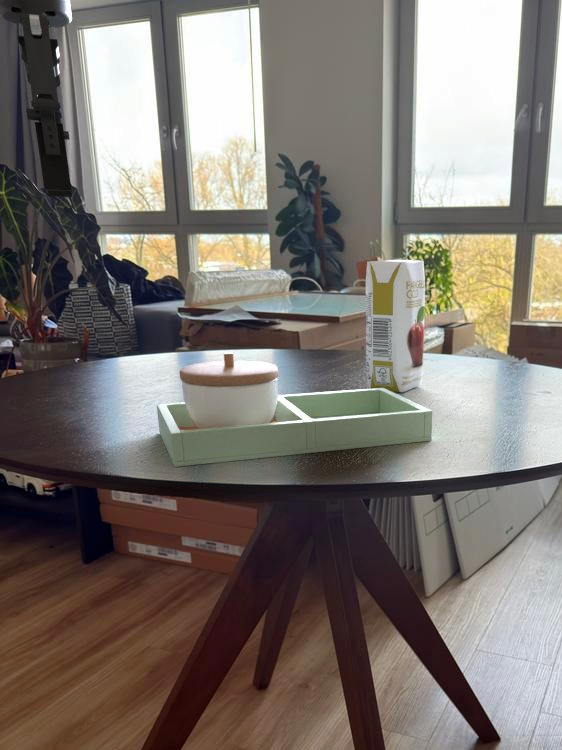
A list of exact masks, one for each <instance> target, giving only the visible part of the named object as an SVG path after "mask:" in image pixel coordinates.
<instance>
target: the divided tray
mask: <svg viewBox="0 0 562 750" xmlns="http://www.w3.org/2000/svg"><path fill="white" fill-rule="evenodd" d="M156 412H157V413H156V414H157V421H158V423H157V424H158V432H159V434H160V437H161V439H162V441H163V442H162V443H163V444H164V446H165V448H166V450H167V451H166V452H168V456H169V457H170V459H171V462H172V464H173V466H174V468H176V467H177V468H178V467H187V466H188V467H189V466H197V465H207V464H217V463H226V462H236V461H245V460H254V459H255V460H256V459H263V458H273V457H274V458H275V457H286V456H293V455H305V454H314V453H323V452H333V451H334V452H335V451H343V450H344V451H345V450H353V449H362V448H363V449H364V448H372V447H383V446H392V445H402V444H411V443H412V444H413V443H422V442H430V441H433V440H432V435H433V410H431V409H429V408H426V407H425V406H423V405H420V404H418V403H416V402H414V401H412V400H410V399H408V398H406V397H404V396H402V395H400V394H398V393H396V392H392V391H389V390H387V389H385V388H374V389H368V388H363V389H349V390H334V391H322V392H321V391H320V392H306V393H294V394H278V402H277V407H276V411H275V414H274V417H273V419H272V421H271V422H270V423H264V424H252V425H240V426H228V427H217V428H205V429H198V428H197V427H196V426H195V424H194V423H193V422H192V420H191V418H190V416H189V414H188V412H187V409H186V406H185V402H184V401H183V402H182V401H181V402H168V403H157V404H156Z"/></svg>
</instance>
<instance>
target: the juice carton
mask: <svg viewBox="0 0 562 750" xmlns="http://www.w3.org/2000/svg"><path fill="white" fill-rule="evenodd" d="M365 272H366V273H365V370H366V371H365V372H366V373H365V374H366V382H367V389H374V388H385V389H387V390H389V391H391V392H393V393H405V392H408V391H410V390H411V389H414V388H417V387H419V386H421V384H422V379H423V372H424V350H425V347H424V346H425V309H426V307H425V303H426V302H425V300H426V274H425V265H424V260H415V259H386V260H367V261H366V271H365Z"/></svg>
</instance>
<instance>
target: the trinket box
mask: <svg viewBox="0 0 562 750" xmlns="http://www.w3.org/2000/svg"><path fill="white" fill-rule="evenodd" d="M279 377H280V372H279V367H278V366H277V365H276V364H273V363H270V362H264V361H256V360H235V359H234V352H231V351H229V352H223V360H216V361H206V362H198V363H193V364H189V365H186V366H183V367H182V368H180V370H179V379H180V381H181V390H182V398H183V400H184V401H183V402H185V406H186V409H187V412H188V414H189V416H190V418H191V420H192V422H193V423H194V424H195V426H196V427H197V428H198V429H205V428H217V427H228V426H240V425H252V424H264V423H270V422H271V421H272V419H273V417H274V414H275V411H276V407H277V402H278V395H279Z"/></svg>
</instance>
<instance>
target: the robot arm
mask: <svg viewBox="0 0 562 750" xmlns="http://www.w3.org/2000/svg"><path fill="white" fill-rule="evenodd" d="M0 18H1V19H3V20H4V21H7V22H10V23H12V24H16V25H17V24H18V25H19V24H21V26H22V31H23V32H22V33H23V35H17V42H18V43H17V44H18V49H19V53H20V58H21V60H22V63H23V68H24V72H25V73H26V78H27V82H28V84H29V85H30V94H31V99H32V100H31V101H30V103H31V107H32V108H25V112H26V117H27V121H34V127H35V128H34V129H35V135H36V140H37V141H36V142H37V148H38V155H39V160H40V161H39V162H40V168H41V174H42V175H41V176H42V182H43V188H44V189H43V190H44V191H47V195H48V197H50V198H51V197H53V198H73V192H72V186H71V185H72V184H71V176H70V168H69V161H68V153H67V145H66V141H70V140H71V139H70V133H69V132H70V131H68V130H64V124H63V123H62V119H63V116H62V112H61V109H62V105H61V102H59V97H58V95H59V94H58V89H57V88H59V87H60V85H61V79H60V69H59V64H60V61H61V60H60V52H59V51H60V49H59V42H58V39H57V38H51V37H50V30H49V29H50V28H56V29H57V28H58V29H59V28H64V27H67V26H68V25H70V23H71V22H72V20H73V17H72V9H71V0H0Z"/></svg>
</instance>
